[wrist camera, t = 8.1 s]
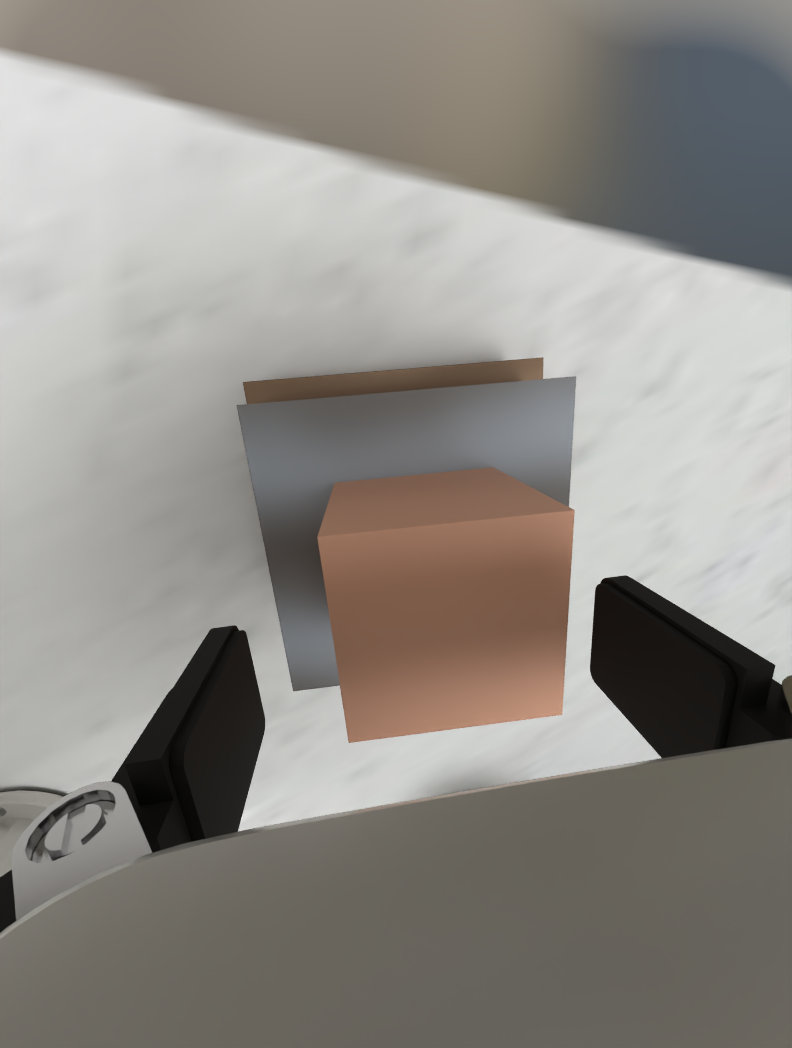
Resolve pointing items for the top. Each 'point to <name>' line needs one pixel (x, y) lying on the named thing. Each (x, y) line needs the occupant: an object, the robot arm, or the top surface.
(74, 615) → the top surface
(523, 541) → the terracotta brick
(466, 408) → the grey and brown block
